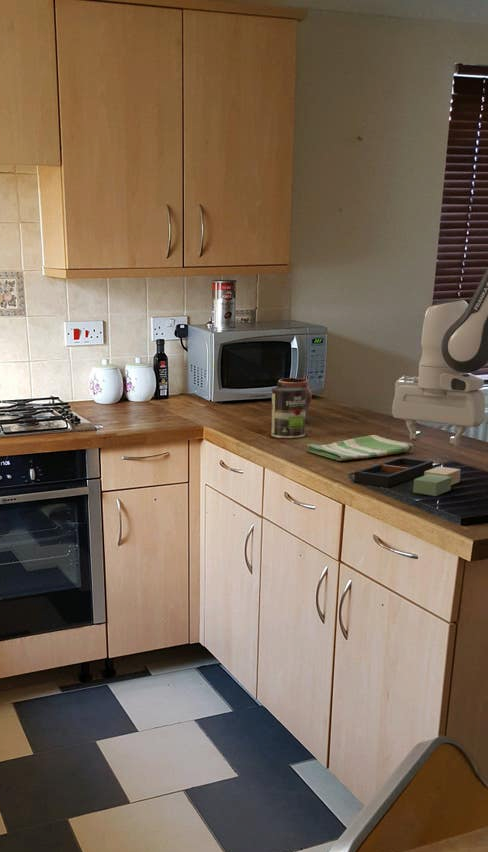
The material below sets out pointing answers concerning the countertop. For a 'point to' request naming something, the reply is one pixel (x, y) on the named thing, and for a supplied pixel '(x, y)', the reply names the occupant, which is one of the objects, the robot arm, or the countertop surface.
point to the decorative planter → (297, 383)
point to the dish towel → (360, 448)
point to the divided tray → (393, 471)
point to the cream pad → (446, 473)
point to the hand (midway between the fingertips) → (434, 442)
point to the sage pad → (432, 484)
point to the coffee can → (288, 412)
